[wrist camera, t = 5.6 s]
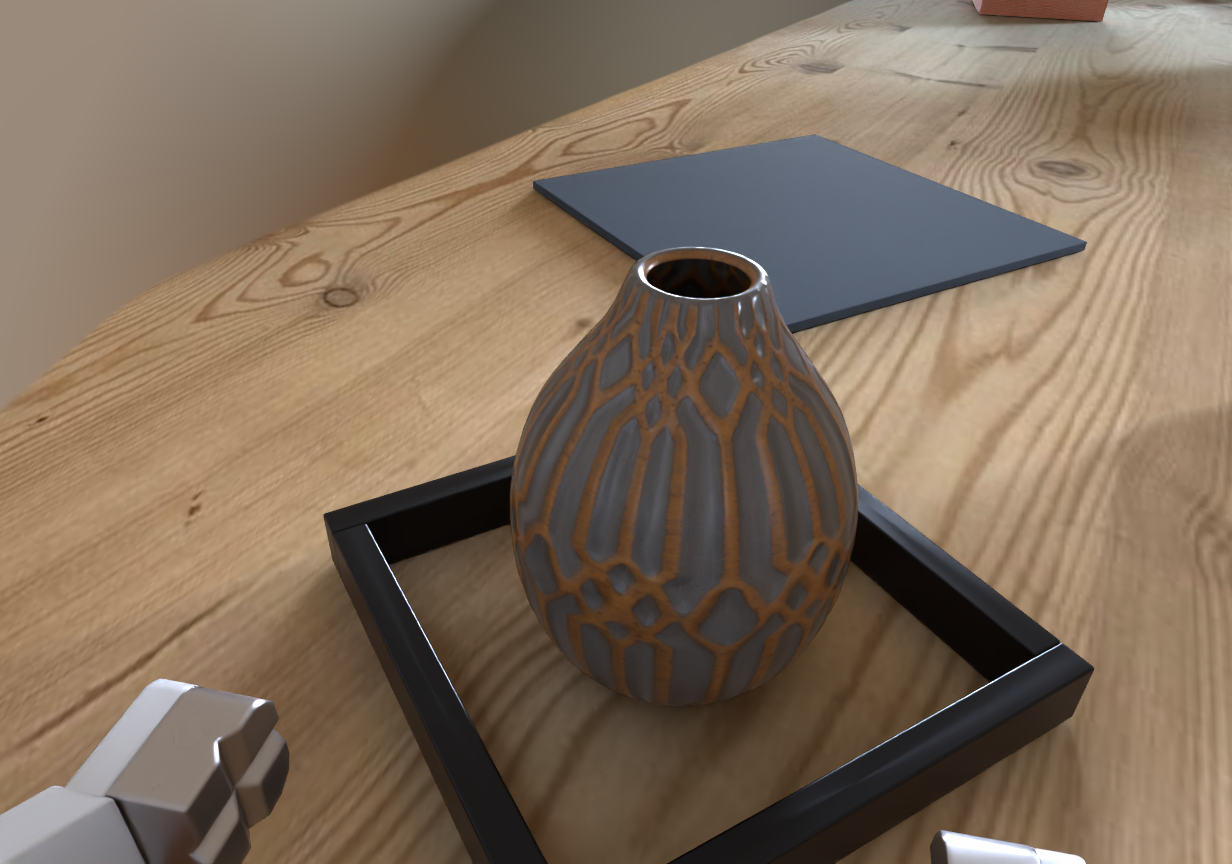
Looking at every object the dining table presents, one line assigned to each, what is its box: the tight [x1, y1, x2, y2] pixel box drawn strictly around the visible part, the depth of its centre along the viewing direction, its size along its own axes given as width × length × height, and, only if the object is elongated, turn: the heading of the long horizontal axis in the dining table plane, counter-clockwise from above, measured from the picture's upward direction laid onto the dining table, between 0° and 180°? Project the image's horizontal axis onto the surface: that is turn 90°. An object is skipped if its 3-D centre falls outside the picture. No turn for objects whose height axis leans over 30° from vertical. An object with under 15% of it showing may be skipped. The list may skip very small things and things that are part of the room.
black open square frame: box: [323, 455, 1094, 864], centre depth 20 cm, size 12×12×2 cm
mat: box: [533, 135, 1087, 333], centre depth 42 cm, size 18×18×1 cm
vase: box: [510, 247, 858, 706], centre depth 18 cm, size 7×7×9 cm
